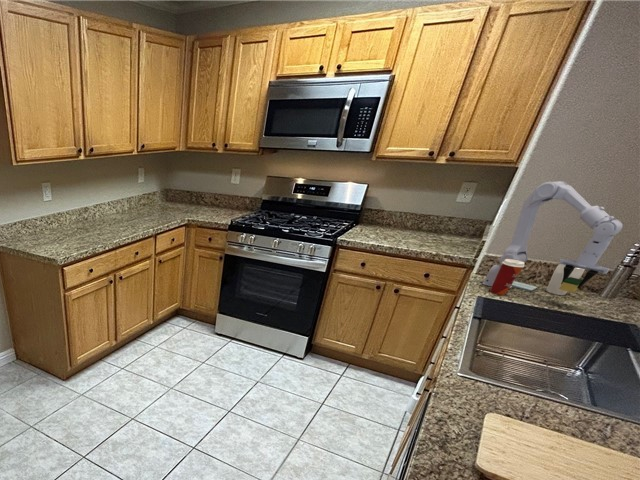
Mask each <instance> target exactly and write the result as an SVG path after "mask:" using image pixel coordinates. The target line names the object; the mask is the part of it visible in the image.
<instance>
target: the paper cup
mask: <svg viewBox="0 0 640 480" xmlns="http://www.w3.org/2000/svg"><path fill="white" fill-rule="evenodd" d="M502 263H503V264H502V266H501V268H500V270H499V272H498V274H497V276H496V279H495V281H494V283H493V285H492V287H491V286H490V287H491V288H490V290H489V292H490V293H492V294H495V295H499V296H505V295H506V294H507V293H508V291H509V290H510V289H511V288H510V286H511V285H512V283H513V282H514V281H516V279H517V277H518V276H519V274H520V273H521V271H522V269H523V268H525V264H526V262H525V263H524V262H522V261H518V260H513V259H505V260H504V261H503V262H502ZM509 288H510V289H509Z"/></svg>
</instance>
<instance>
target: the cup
mask: <svg viewBox="0 0 640 480" xmlns="http://www.w3.org/2000/svg"><path fill="white" fill-rule="evenodd" d="M565 266H566V265H563V264H562V265H561V264H557V266H556V267H555V269H554V270H553V273H552V274H551V278H550V280H549V282H548V285H547V287H546V292H547V293H550V294H553V295H558V296H565V295H567V293H568V291H564V290H560V289H559V288H560V286H561V285H562V284H561V283H562V280H563V275H564V267H565ZM585 271H586V270H585V269H581V268H576V267H575V269H574V270H573V271H572V273H571V274H570V276H569V277H572V278H576V279H581V278H582V276H583V274H584V272H585ZM569 277H568V278H569Z"/></svg>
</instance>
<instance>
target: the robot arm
mask: <svg viewBox="0 0 640 480" xmlns="http://www.w3.org/2000/svg"><path fill="white" fill-rule="evenodd" d="M552 200H562V201H565V202H566V203H567V204H568V205H570V206H571V207H572V208H573V209H575V210H576V211H577V212H579V219H580V220H581V221H582V222H584V223H585V224H586V225H587V226H588V227H589V228H590V229H592V230H593V231H592V236H591V237H590V239H589V240H588V241H587V243H586V245H585V246H584V248H583V249H582V251H581V253H580V254H579V256H578V257H577V259H576V260H572V259H567V258H561V259H560V260H559V262H558V264H557V265H559V264H561V265H562V264H563V265H566V266H565V267H564V275H563V280H562V283H563V282H564V280H565V279H567V278H568V277H569V276H570V274H571V273H572V271H573V270H574V269H575V267H576V268H581V269H585V271H587V272H586V274H585V275H584V276H583V278H582V279H581V280H582V281H581V283H580V284H579V286H578V287H577V288H578V290H579V289H581V288H582V286H583V285H585V283H587V282H589V280H591V279H592V278H593V277H595V276H596V275H597V274H602V275H607V274H608V273H609V272H610V270H611V268H609V267H604V266H601V265H597V263H598V261H599V260H600V259H601V257H602V255H603V254H604V252H605V251H606V250H607V248H608V247H609V245H610V244H611V242H612V241H613V238H614V237H615V235H617V234H619V233H620V232H621V231H622V229H623V227H624V226H623V225H624V224H623V222H622V221H621V220H619V219H615V216H614V215H610V214H608V213H607V211H605V207H604V206H600V205H591V204H590V203H589V202H588V201H587V200H586V199H585V198H583V196H582V195H581V194H580V193H579V192H578V191H577V190H576V189H574V187H573V186H572V185H570V184H568V183H567V182H566V181H563V180H558V181H545V182H543V183H541V184H540V185H538V186H536V187H534V189H533V191H532V192H531V194H529V195H528V196H527V197H526V199H525V200H524V201H523V202H522V206H521V210H520V213H519V216H518V219H517V222H516V225H515V229H514V232H513V235H512V239H511V242H510V245H509V246H508V247H507V248H506V249H505V250H504V253H503V254H502V256H501V257H500V258H499V261H498V263H499V264H493V265H492V266H491V268H489V271H488V272H487V274H486V277H485V278H484V280H483V282H482V283H481V284H482V285H484V286H488V287H492V285H493V283H494V281H495V279H496V276H497V274H498V272H499V270H500V268H501V266H502V264H503V263H502V262H503V261H504V260H505V259H513V260H518V261H522V262H524V263H525V264H526V263H527V261H528V259H529V257H528V251H529V249H528V246H527V244H528V242H529V239H530V235H531V232H532V230H533V226H534V224H535V222H536V221H535V220H536V217H537V214H538V212H539V209H540V207H541V206H542V205H544V204H546V203H547V202H549V201H552ZM562 283H561V284H562ZM511 288H513V287H512V286H510V288H509V289H508V290H510V289H511Z"/></svg>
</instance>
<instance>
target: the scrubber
mask: <svg viewBox="0 0 640 480" xmlns="http://www.w3.org/2000/svg"><path fill="white" fill-rule="evenodd" d="M582 280H583V279H581V278H579V279H576V278H572V277H569V278H567V279H565V280H564V282H563V283H562V285H561V286H560V288H559V289H560V290H564V291H568V292H569V293H572V294H573V293H575V292H576V291H578V290H579V289H578V288H577V287H578V286H579V284H580V283H581V281H582ZM568 292H567V293H568Z"/></svg>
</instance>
